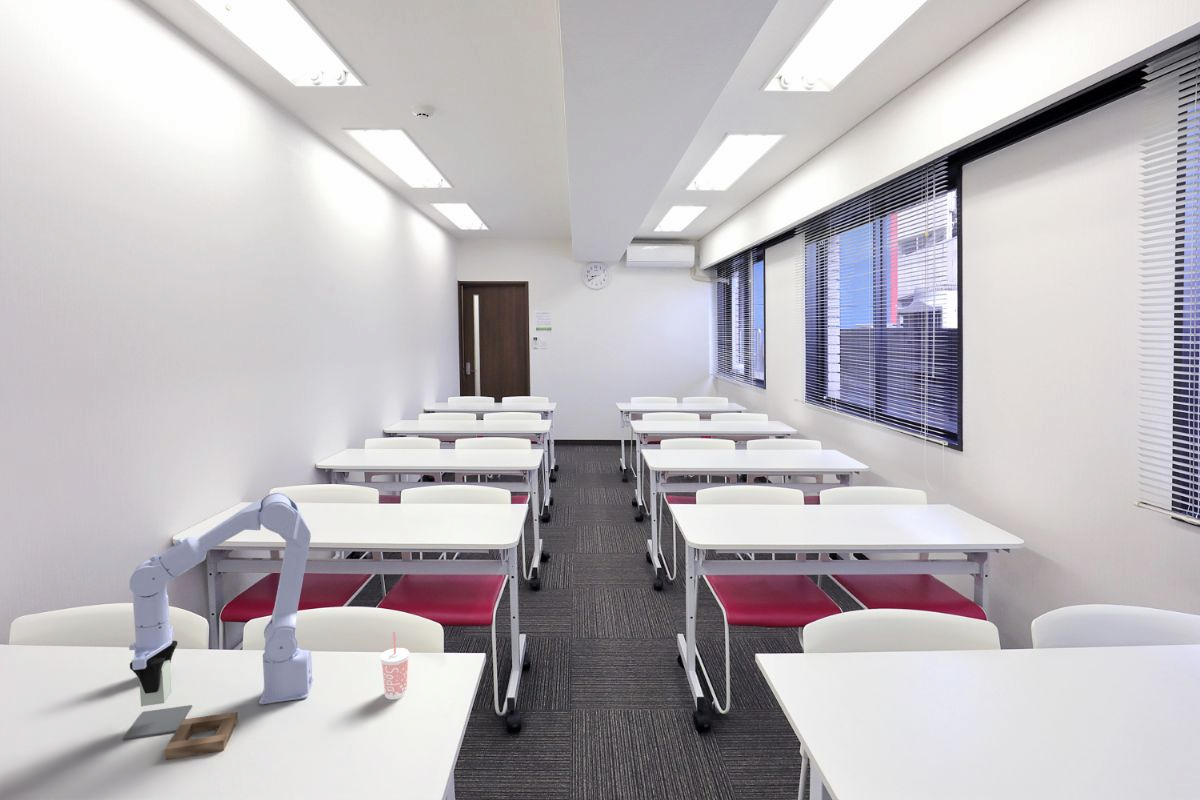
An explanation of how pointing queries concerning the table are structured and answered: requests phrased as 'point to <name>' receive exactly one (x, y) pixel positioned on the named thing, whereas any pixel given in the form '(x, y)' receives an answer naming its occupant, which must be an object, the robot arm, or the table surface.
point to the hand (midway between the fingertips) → (156, 685)
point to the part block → (163, 690)
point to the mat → (158, 722)
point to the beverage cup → (395, 671)
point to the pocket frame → (186, 747)
